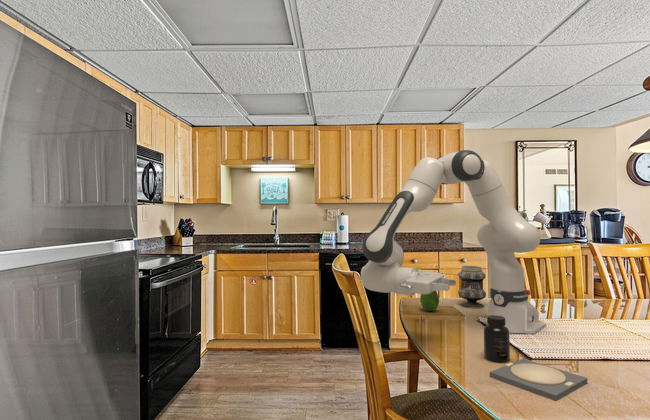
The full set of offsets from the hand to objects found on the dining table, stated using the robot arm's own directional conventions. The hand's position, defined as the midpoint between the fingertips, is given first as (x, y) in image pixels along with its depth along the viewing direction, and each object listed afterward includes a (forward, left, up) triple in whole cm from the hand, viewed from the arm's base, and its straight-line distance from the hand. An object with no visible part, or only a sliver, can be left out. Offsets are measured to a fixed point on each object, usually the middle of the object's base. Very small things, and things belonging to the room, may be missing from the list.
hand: (452, 285), depth 117 cm
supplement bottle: (-5, +11, -20) cm, 24 cm away
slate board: (0, +25, -20) cm, 32 cm away
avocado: (-34, -38, -20) cm, 55 cm away
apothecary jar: (-57, -33, -20) cm, 69 cm away
